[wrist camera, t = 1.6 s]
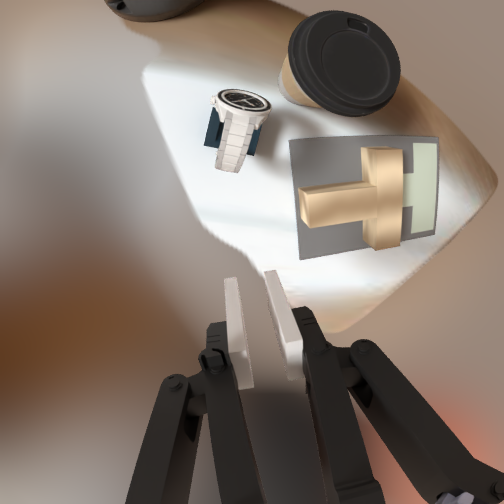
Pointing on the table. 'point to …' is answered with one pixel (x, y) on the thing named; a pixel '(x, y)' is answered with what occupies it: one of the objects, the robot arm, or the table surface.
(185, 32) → the table surface
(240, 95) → the watch
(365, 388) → the robot arm
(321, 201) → the t block
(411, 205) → the mat
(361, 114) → the coffee cup
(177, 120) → the table surface
